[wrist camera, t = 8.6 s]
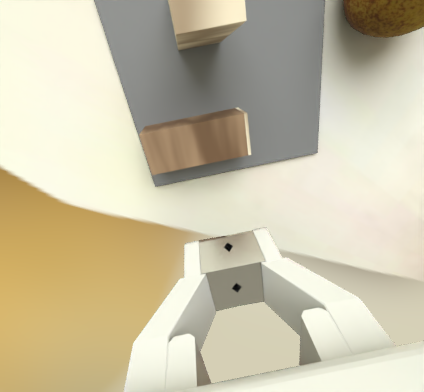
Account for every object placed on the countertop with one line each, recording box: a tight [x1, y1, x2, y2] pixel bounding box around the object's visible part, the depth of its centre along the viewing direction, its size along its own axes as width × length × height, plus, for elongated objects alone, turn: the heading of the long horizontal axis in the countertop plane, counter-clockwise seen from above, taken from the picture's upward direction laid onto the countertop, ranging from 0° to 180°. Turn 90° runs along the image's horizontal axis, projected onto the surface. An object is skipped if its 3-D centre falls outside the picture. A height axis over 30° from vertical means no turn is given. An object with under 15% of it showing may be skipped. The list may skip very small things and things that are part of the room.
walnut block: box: [139, 107, 251, 175], centre depth 24 cm, size 4×4×10 cm
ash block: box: [168, 0, 247, 51], centre depth 16 cm, size 4×4×10 cm
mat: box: [94, 0, 325, 187], centre depth 24 cm, size 20×18×1 cm
